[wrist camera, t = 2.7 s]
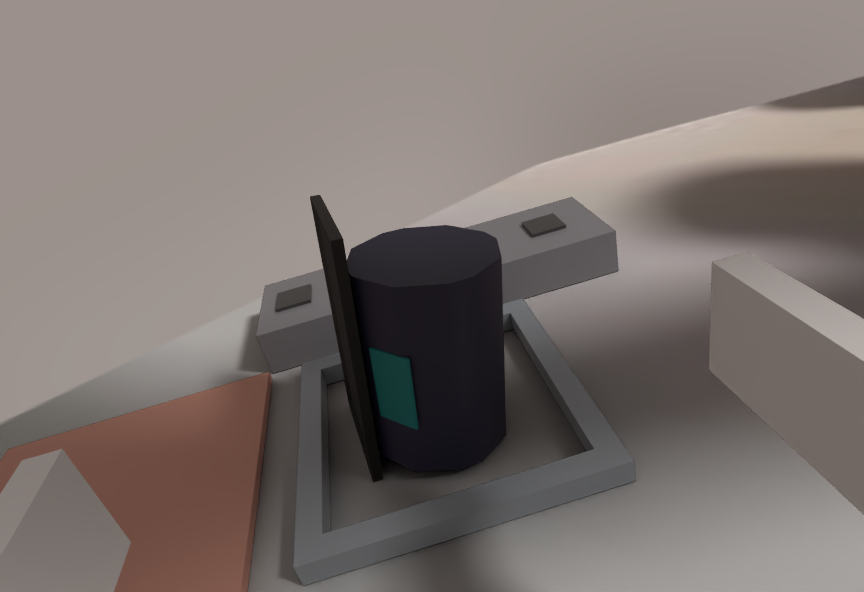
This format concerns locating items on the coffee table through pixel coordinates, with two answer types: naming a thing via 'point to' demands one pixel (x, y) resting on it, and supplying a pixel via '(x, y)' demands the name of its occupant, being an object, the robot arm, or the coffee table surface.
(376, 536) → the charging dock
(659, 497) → the coffee table surface
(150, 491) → the mat
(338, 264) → the speaker
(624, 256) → the coffee table surface
